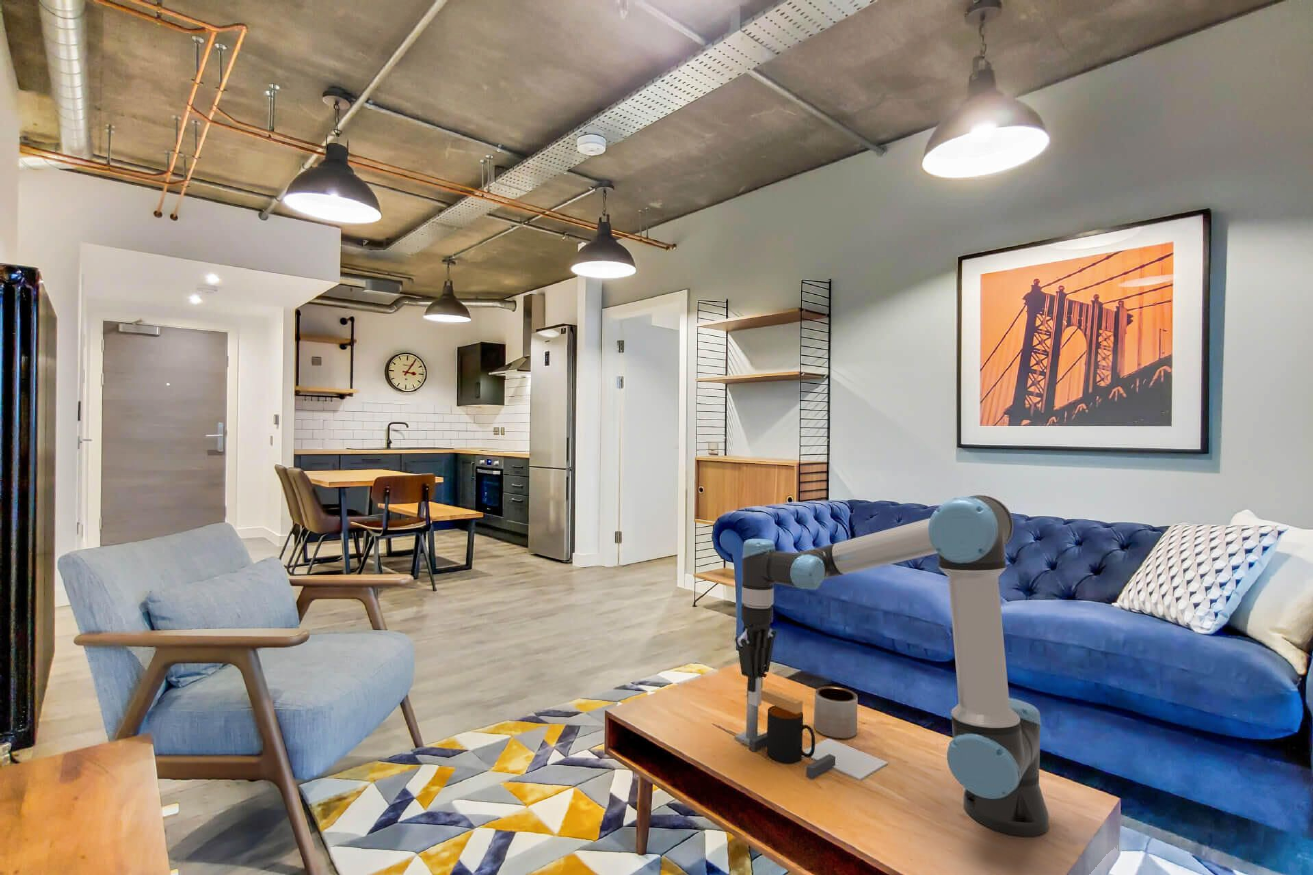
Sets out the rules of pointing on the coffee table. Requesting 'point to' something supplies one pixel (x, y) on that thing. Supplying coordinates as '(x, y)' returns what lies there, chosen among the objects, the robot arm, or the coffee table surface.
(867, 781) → the coffee table surface
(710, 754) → the coffee table surface
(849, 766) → the mat
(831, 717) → the planter
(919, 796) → the coffee table surface
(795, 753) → the mug
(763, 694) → the wooden bar
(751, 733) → the dock
